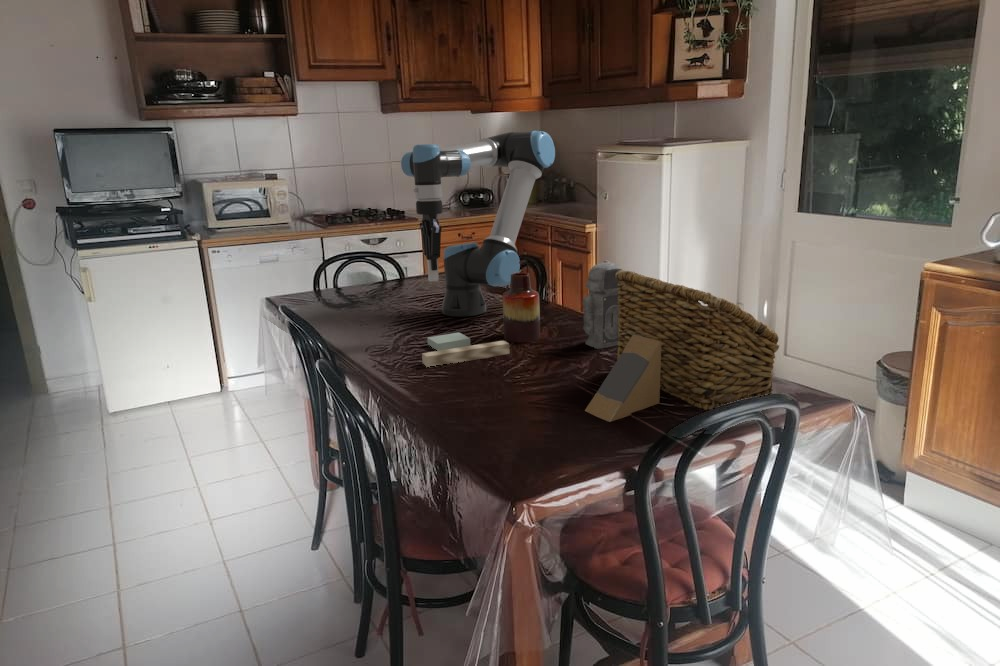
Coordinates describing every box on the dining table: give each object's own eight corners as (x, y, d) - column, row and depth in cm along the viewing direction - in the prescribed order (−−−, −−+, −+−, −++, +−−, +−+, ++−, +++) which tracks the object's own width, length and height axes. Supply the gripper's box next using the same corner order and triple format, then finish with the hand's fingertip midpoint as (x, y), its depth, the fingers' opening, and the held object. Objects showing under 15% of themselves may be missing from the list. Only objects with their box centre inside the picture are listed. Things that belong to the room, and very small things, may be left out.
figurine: (635, 346, 203) (636, 259, 197) (595, 354, 197) (594, 265, 190) (614, 339, 212) (614, 255, 205) (574, 347, 205) (573, 260, 198)
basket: (795, 394, 162) (804, 277, 155) (708, 417, 151) (713, 292, 144) (687, 355, 193) (690, 257, 186) (609, 372, 182) (609, 268, 175)
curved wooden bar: (504, 354, 201) (503, 340, 200) (509, 357, 197) (509, 343, 196) (422, 367, 191) (421, 353, 190) (427, 371, 188) (426, 356, 187)
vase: (547, 340, 213) (546, 273, 208) (523, 348, 205) (521, 278, 200) (520, 334, 220) (518, 269, 215) (496, 342, 212) (493, 275, 207)
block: (459, 345, 213) (458, 332, 212) (470, 351, 206) (470, 338, 205) (428, 350, 208) (427, 337, 207) (438, 357, 201) (437, 343, 200)
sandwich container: (582, 412, 156) (581, 346, 153) (632, 396, 165) (633, 333, 161) (609, 423, 150) (609, 355, 146) (660, 406, 158) (661, 341, 154)
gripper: (409, 199, 209) (414, 278, 215) (423, 201, 198) (428, 285, 203) (433, 197, 212) (438, 276, 218) (448, 200, 200) (453, 282, 206)
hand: (433, 280), depth 211 cm, fingers closed
